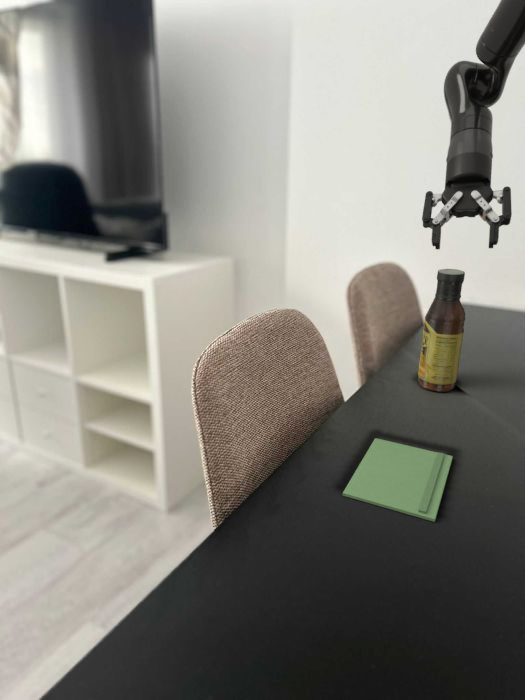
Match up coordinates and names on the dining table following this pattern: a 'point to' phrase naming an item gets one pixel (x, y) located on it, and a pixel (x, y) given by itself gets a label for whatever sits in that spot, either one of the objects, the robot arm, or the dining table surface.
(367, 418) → the dining table surface
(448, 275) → the sauce bottle
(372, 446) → the green notebook
